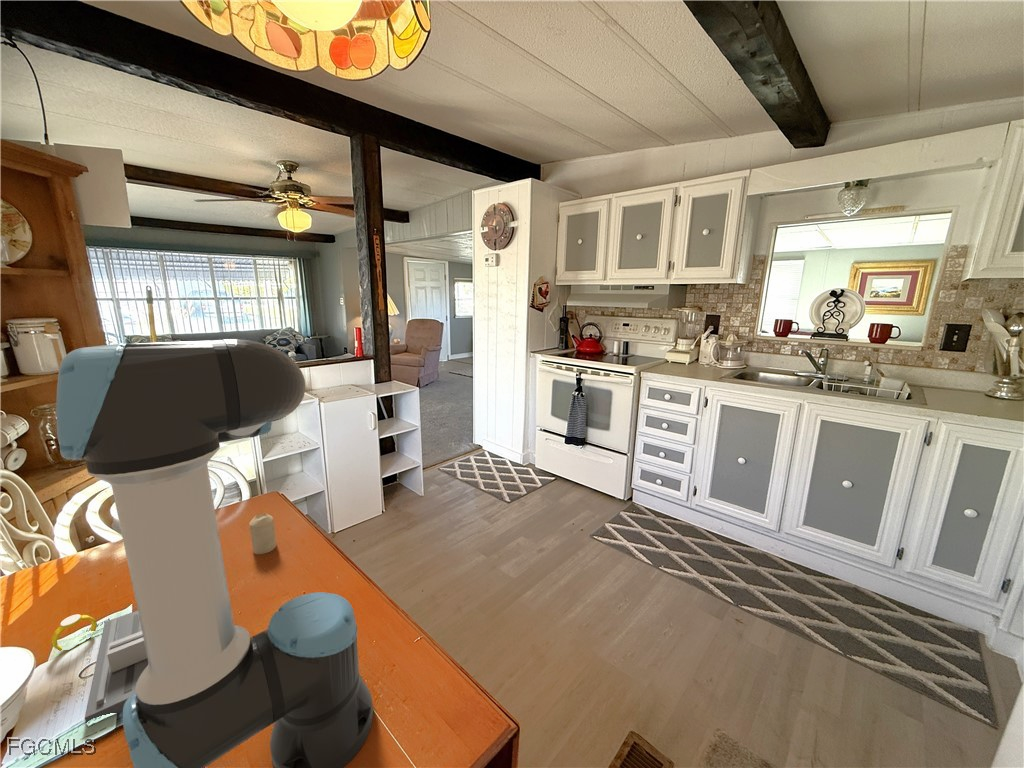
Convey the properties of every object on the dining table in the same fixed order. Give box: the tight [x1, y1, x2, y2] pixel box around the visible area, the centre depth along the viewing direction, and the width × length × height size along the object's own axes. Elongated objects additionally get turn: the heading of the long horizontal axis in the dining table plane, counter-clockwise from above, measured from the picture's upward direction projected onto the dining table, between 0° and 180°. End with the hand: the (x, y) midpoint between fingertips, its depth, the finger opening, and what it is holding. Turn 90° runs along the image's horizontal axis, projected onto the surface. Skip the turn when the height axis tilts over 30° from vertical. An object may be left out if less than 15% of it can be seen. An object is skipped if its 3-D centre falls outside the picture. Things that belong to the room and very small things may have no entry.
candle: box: [248, 512, 277, 555], centre depth 108 cm, size 6×6×10 cm
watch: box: [50, 613, 98, 652], centre depth 78 cm, size 6×3×6 cm, turn 156°
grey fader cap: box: [107, 631, 147, 673], centre depth 73 cm, size 3×5×4 cm, turn 130°
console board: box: [84, 609, 149, 724], centre depth 78 cm, size 24×18×3 cm
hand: (179, 560), depth 89 cm, fingers closed
